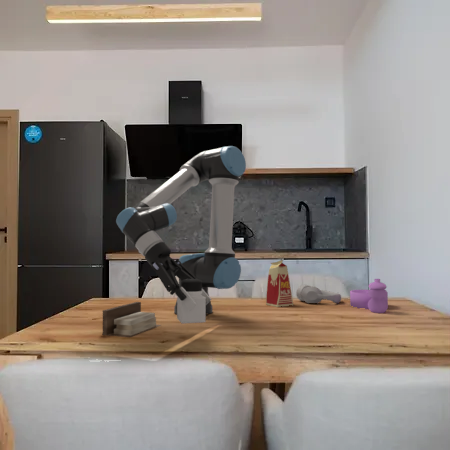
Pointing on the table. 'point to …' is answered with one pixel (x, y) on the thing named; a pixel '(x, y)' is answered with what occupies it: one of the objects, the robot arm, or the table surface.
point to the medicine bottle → (194, 291)
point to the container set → (371, 297)
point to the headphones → (316, 294)
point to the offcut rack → (117, 313)
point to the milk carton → (278, 286)
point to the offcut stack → (134, 323)
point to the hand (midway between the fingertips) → (201, 304)
